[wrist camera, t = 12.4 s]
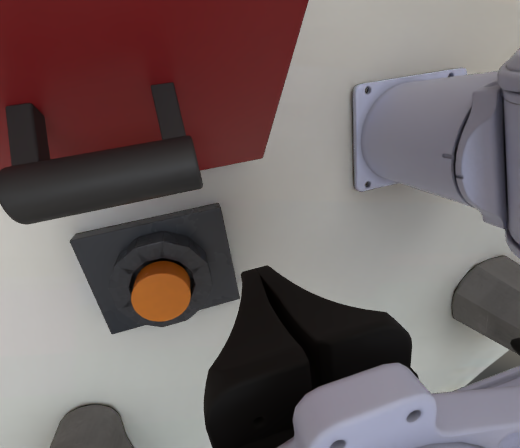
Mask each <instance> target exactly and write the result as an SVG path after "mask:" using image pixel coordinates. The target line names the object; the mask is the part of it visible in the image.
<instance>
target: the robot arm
mask: <svg viewBox="0 0 520 448" xmlns="http://www.w3.org/2000/svg"><path fill="white" fill-rule="evenodd" d="M448 75H449V76H450V77H448ZM366 87H367V88H368V92H367V94H366V93H365V88H366ZM353 135H354V186H355V189H356V190H358V191H360V192H362V191H367V190H371V189H375V188H380V187H384V186H388V185H393V184H397V183H401V184H404V185H407V186H410V187H413V188H416V189H419V190H422V191H425V192H428V193H431V194H434V195H438V196H441V197H444V198H447V199H450V200H453V201H456V202H459V203H462V204H465V205H468V206H471V207H474V208H477V209H478V210H479V211H480V212H481V214H482V216H483V221H484V222H486V223H489V224H492V225H494V226H497V227H500V228H503V229H505V237H506V242H507V244H508V246H509V248H510V250H511V251H512V252H513V253H514V254H515V255H516V256H517V257H518V258H519V259H520V48H519V49H518V50H517V51H516V52H515V53H514V54H513V56H512V57H511V58H510V59H509V60H508V61H506V62H505V63H504V64H503V65H502V66H501V67H500V68H499V70H498V71H493V72H485V73H477V74H470V75H467V70H466V69H465V68H456V69H450V70H443V71H437V72H431V73H425V74H418V75H412V76H406V77H400V78H394V79H387V80H381V81H375V82H369V83H362V84H358V85H356V86H355V87H354V89H353ZM366 182H368V185H367V186H365V183H366ZM241 278H242V296H241V302H240V307H239V311H238V315H237V318H236V321H235V324H234V326H233V329H232V331H231V334H230V336H229V338H228V340H227V342H226V344H225V346H224V348H223V349H222V351H221V353H220V354H219V356H218V357H217V359H216V360H215V362H214V363H213V365H212V366H211V368H210V369H209V371H208V376H207V381H206V387H205V394H204V416H205V425H206V430H207V433H208V436H209V439H210V442H211V445H212V447H213V448H520V366H517V367H514V368H512V369H509V370H507V371H504V372H501V373H499V374H496V375H494V376H491V377H488V378H486V379H483V380H481V381H478V382H476V383H473V384H470V385H468V386H465V387H462V388H460V389H457V390H455V391H452V392H444V393H433V394H431V393H430V392H429V391H428V389H427V388H426V387H425V386H424V385H423V384H422V383H421V381H420V380H419V378H418V375H417V374H416V373H415V372H414V371H413V369H412V368H411V367H410V365H411V352H412V340H411V337H410V335H409V333H408V332H407V331H406V330H405V329H404V328H403V327H402V326H401V325H400V324H399V323H398V322H397V321H396V320H395V319H394V318H393V317H391V316H390V315H389V314H388V313H387V312H380V311H373V310H365V309H360V308H356V307H351V306H347V305H343V304H340V303H336V302H333V301H330V300H327V299H324V298H322V297H320V296H317V295H315V294H312V293H310V292H308V291H306V290H304V289H303V288H301V287H299V286H297V285H295V284H294V283H292V282H291V281H289V280H288V279H286V278H285V277H283V276H282V275H280V274H279V273H277V272H276V271H275V270H273V269H272V268H271V267H269V266H268V265H267V266H263V267H259V268H255V269H252V270H248V271H244V272H242V274H241Z"/></svg>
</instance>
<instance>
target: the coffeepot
mask: <svg viewBox="0 0 520 448" xmlns="http://www.w3.org/2000/svg"><path fill="white" fill-rule="evenodd" d="M452 311H453V318H454V319H456V320H458V321H460V322H462V323H463V324H465V325H467V326H469V327H470V328H472V329H474V330H476V331H478V332H479V333H481V334H483V335H485V336H486V337H488V338H490V339H492V340H494V341H495V342H497V343H499V344H501V345H502V346H504V347H506V348H508V349H510V350H511V351H513V352H515V353H517V354H518V355H520V265H519V264H517V263H516V262H514V261H513V260H511V259H510V258H508V257H507V256H501V257H496V258H492V259H488V260H486V261H484V262H482V263H480V264H479V265H477V266H475V267H474V268H473V269H472V270H471V271H469V272H468V274H467V275H466V276H465V277H464V278H463V279H462V281H461V282H460V283H459V285H458V287H457V289H456V291H455V293H454V296H453V301H452Z"/></svg>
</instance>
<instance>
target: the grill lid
mask: <svg viewBox="0 0 520 448" xmlns="http://www.w3.org/2000/svg"><path fill="white" fill-rule="evenodd" d="M308 1H309V0H0V204H1V206H2V207H3V209H4V210H5V212H6V213H7V214H8V215H9V216H10V217H11V218H12V219H13V220H14V221H16V222H18V223H21V224H32V223H37V222H42V221H47V220H52V219H57V218H61V217H66V216H71V215H76V214H81V213H85V212H90V211H95V210H100V209H105V208H110V207H114V206H119V205H124V204H129V203H134V202H139V201H143V200H148V199H153V198H158V197H163V196H168V195H172V194H177V193H182V192H187V191H192V190H197V189H201V188H202V187H203V183H202V178H201V174H200V170H205V169H210V168H215V167H220V166H225V165H230V164H235V163H240V162H246V161H251V160H256V159H261V158H263V155H264V152H265V149H266V145H267V142H268V138H269V135H270V131H271V128H272V124H273V121H274V118H275V114H276V111H277V107H278V104H279V100H280V97H281V93H282V90H283V87H284V83H285V80H286V76H287V73H288V69H289V66H290V63H291V59H292V56H293V52H294V49H295V45H296V42H297V38H298V35H299V32H300V28H301V25H302V21H303V18H304V14H305V11H306V8H307V4H308Z"/></svg>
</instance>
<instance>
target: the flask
mask: <svg viewBox="0 0 520 448" xmlns="http://www.w3.org/2000/svg"><path fill="white" fill-rule="evenodd" d="M50 448H133V447H132V446H131V444H130V442H129V440H128V438H127V436H126V434H125V431H124V428H123V425H122V422H121V419H120V416H119V414H118V413H117V412H115V411H114V410H113V409H112V408H110V407H107V406H103V405H88V406H84V407H80V408H77V409H75V410H74V411H72V412H70V413H68V414H66V416H65V417H64V418H63V419H62V420H61V421H60V423H59V426H58V428H57V431H56V433H55V436H54V439H53V441H52V444H51V446H50Z"/></svg>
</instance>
